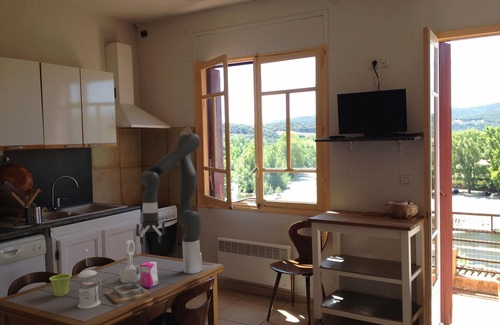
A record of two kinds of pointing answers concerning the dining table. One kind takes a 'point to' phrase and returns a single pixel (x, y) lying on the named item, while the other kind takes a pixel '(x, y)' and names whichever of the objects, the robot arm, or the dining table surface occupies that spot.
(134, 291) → the wooden board with frame
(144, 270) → the supplement box
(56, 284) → the plant pot
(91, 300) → the french press
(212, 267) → the dining table surface
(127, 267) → the engine component
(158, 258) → the dining table surface
